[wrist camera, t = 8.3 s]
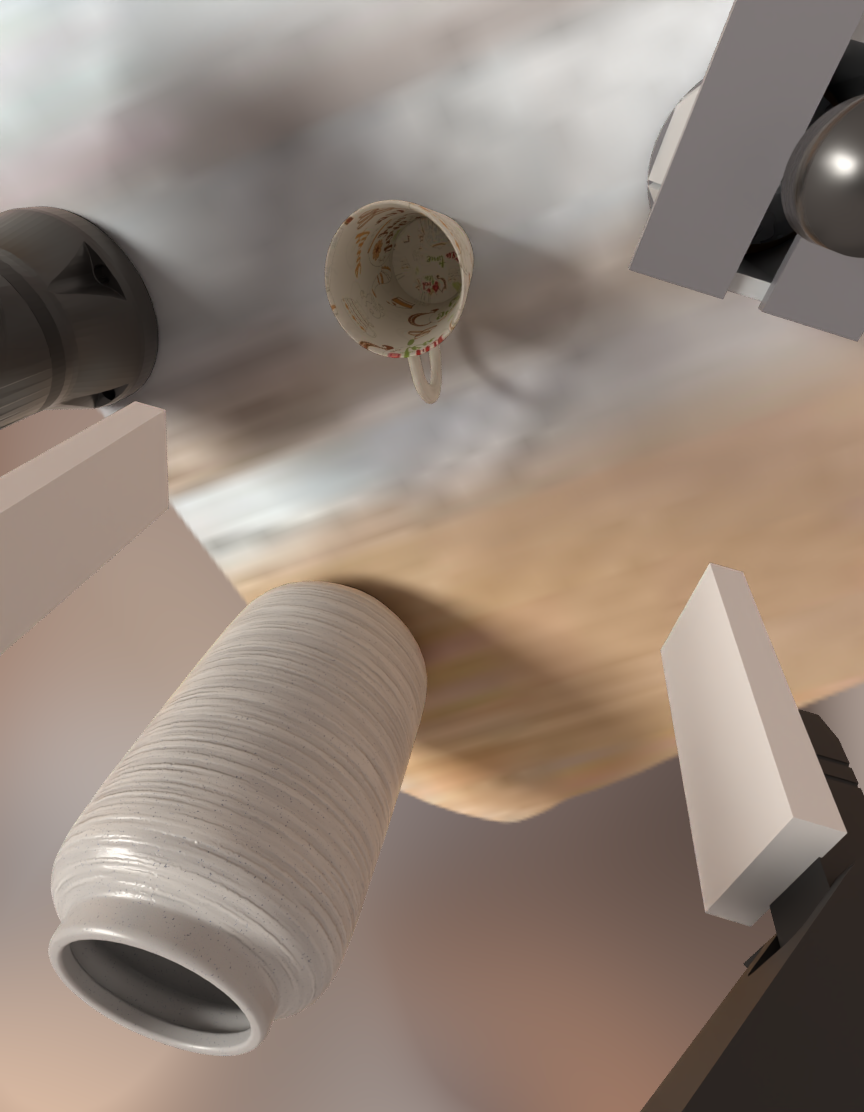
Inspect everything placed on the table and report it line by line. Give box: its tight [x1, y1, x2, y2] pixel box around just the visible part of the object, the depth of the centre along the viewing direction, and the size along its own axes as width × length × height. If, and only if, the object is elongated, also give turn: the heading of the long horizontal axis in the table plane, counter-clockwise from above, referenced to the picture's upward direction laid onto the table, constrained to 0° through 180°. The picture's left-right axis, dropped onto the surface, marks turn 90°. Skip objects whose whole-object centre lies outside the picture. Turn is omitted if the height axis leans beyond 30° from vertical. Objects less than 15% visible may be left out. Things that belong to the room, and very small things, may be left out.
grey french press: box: [628, 0, 864, 342], centre depth 31 cm, size 11×14×15 cm
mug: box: [325, 200, 474, 404], centre depth 41 cm, size 8×13×10 cm, turn 12°
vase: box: [48, 581, 427, 1056], centre depth 51 cm, size 20×20×34 cm
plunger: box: [750, 94, 864, 258], centre depth 25 cm, size 7×7×17 cm
